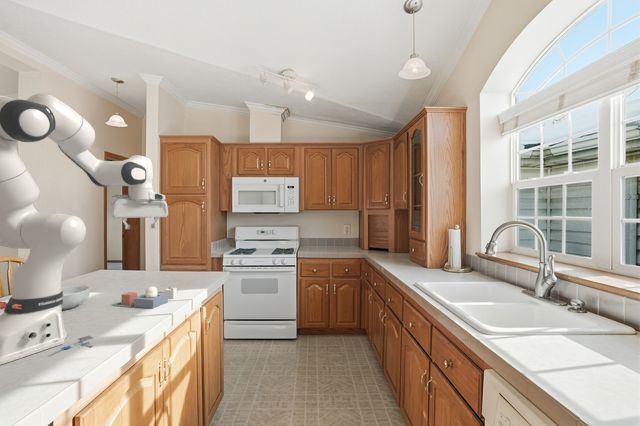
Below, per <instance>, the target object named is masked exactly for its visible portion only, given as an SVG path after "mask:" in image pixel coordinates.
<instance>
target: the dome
mask: <svg viewBox="0 0 640 426" xmlns="http://www.w3.org/2000/svg"><path fill="white" fill-rule="evenodd" d="M157 292H158V288H157V287H156V286H153V285H152V286H149V287H147V288H146V290H145V294H146V298H155V297H157Z"/></svg>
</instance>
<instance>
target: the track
mask: <svg viewBox="0 0 640 426" xmlns="http://www.w3.org/2000/svg"><path fill="white" fill-rule="evenodd" d="M145 294H146V293H143V294H140V295H137V297H140V296H143V295H145ZM157 294H164V291H157ZM121 302H122V301H120V302H117V303H114V304H112V306H113V307H122V308H133V307H134V304H133V305H130V306H128V305H121Z"/></svg>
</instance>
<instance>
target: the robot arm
mask: <svg viewBox="0 0 640 426" xmlns="http://www.w3.org/2000/svg"><path fill="white" fill-rule="evenodd" d="M46 138H49V139H50V140H51V141H53V142H54V143H56V145H57V146H58V148H59V150H60V151H61V152H62V153H63V155H65V156H66V157H67V158H68V159H69V160H70V161H72V162H73V163H74V164H75V165H76V166H78V168H80V169H81V170H82V171H83V172H84V173H85V175H87V177H88V178H89V179H90V182H92V183H93V184H94V185H96V186H97V187H101V188H104V187H105V188H106V187H128V194H115V195H113V196H112V197H111V198H110V204H111V214H110V215H111V217H112V218H114V219H121V221H122V222H123V224H124V229H125V230H131V224H128V223H127V220H128V219H133V218H136V219H137V218H142V219H143V218H149V219H150V218H153V220H154V222H153V223H150V229H156V228H157V224H158V222H159V220H160V218H167V217H168V216H169V210H168V209H169V208H168V204H167V201H165V200H166V195H165V194H161V193H159V192H157V191H154V186H153V181H154V166H153V162H152V160H151V158H150V157H148V156H145V155H142V154H132V155H131V156H130V157H128V158H126V159H124V160H112V161H111V160H102V159H99V158H97V157H96V156H95V155H94V154H93V153H91V152H90V150H89V149H90V148H91V147H93V144H94V143H95V139H96V131H95V129H94V127H93V126H92V125H91V123H90V122H88V121H87V120H86V119H85V118H84V117H83V116H82V115H81V114H79V113H78V112H77V111H76V110H74V109H73V108H72V107H70V106H69V105H68V104H66V103H65V102H63V101H62V100H60V99H58V98H57V97H55V96H54V95H51V94H48V93H37V94H33V95H31V96H29V97H28V98H26V99H18V98H14V97H9V96H6V95H0V246H1V247H5V248H11V249H20V250H21V249H23V250H24V249H26V250H27V249H28V250H29V254H28V257H27V259H26V260H25V261H24V263H21V264H20V265H18V266H16V267H15V268H14V269H13V271H12V272H11V297H10V298H9V300H8V301H7V302H6V301H0V310H3V313H2V314H0V365H3V364H7V363H10V362H13V361H16V360H19V359H22V358H26V357H28V356H30V355H33V354H36V353H40V352H42V351H45V350H48V349H51V348H55V347H57V346H60V345H63V344H64V343H65V339H66V338H67V337H68V333H67V330H66V328H65V323H64V319H63V310H62V309H61V306H62V303H63V292H62V291H61V287H62V281H63V279H62V278H63V270H64V269H63V268H64V265H65V262H66V260H67V258H68V256H69V255H70V253H71V251H72V250H74V249H75V248H76V247H77V246H79V245H80V244H81V243H82V242H83V241H84V240H85V238H86V235H87V227H86V224H85V222H84V221H83V219H82V218H81V217H79V216H76V215H73V214H67V213H62V212H40V211H38V210H37V209H36V208H35V206H34V203H35V202H36V201H37V200H38V198H39V197H40V194H41V191H40V187H39V186H38V185H37V183H36V181H35V179H34V178H33V176H32V175H31V174H30V171H29V170H28V168H27V167H26V165H25V163H24V162H23V161H22V159H21V157H20V156H19V153H18V149H17V142H22V143H36V142H39V141H42V140H45V139H46Z"/></svg>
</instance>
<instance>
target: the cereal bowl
mask: <svg viewBox="0 0 640 426" xmlns="http://www.w3.org/2000/svg"><path fill="white" fill-rule="evenodd" d="M61 291H62V292H63V303H62V306H61V309H62V311H65V310H70V309H73V308H76V307H77V306H78V305H80V304H82V303H83V302H86V300H87V299H88V298H89V296H90V292H91V287H90V286H88V285H67V286H61Z"/></svg>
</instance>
